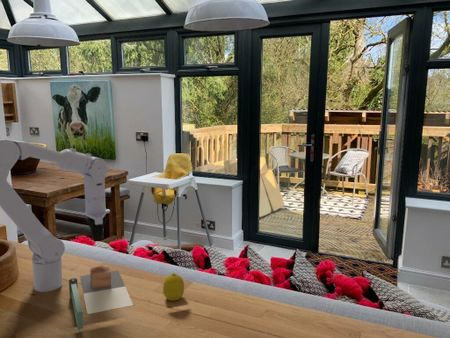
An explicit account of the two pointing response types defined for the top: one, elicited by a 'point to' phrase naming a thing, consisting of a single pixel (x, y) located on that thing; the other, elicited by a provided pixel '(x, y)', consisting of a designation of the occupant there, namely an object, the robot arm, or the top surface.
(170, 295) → the lemon
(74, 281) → the gate post
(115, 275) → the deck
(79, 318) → the bar
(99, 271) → the block
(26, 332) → the top surface
